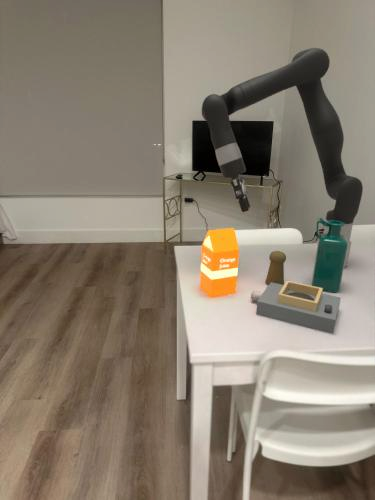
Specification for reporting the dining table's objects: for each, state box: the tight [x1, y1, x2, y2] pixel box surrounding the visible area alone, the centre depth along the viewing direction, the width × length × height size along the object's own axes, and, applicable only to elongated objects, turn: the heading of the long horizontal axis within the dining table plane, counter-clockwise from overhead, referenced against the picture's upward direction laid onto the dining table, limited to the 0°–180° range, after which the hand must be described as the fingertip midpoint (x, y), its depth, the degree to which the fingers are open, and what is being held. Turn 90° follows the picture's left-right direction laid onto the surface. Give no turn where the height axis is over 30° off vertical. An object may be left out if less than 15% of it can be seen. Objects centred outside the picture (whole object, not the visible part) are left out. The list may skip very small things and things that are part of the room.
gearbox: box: [250, 280, 342, 335], centre depth 101 cm, size 24×14×6 cm, turn 63°
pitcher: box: [311, 217, 348, 293], centre depth 114 cm, size 10×8×22 cm
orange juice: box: [199, 227, 240, 299], centre depth 109 cm, size 8×9×20 cm
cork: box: [264, 250, 287, 287], centre depth 117 cm, size 6×6×11 cm
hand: (246, 209), depth 115 cm, fingers open, 8 cm apart
